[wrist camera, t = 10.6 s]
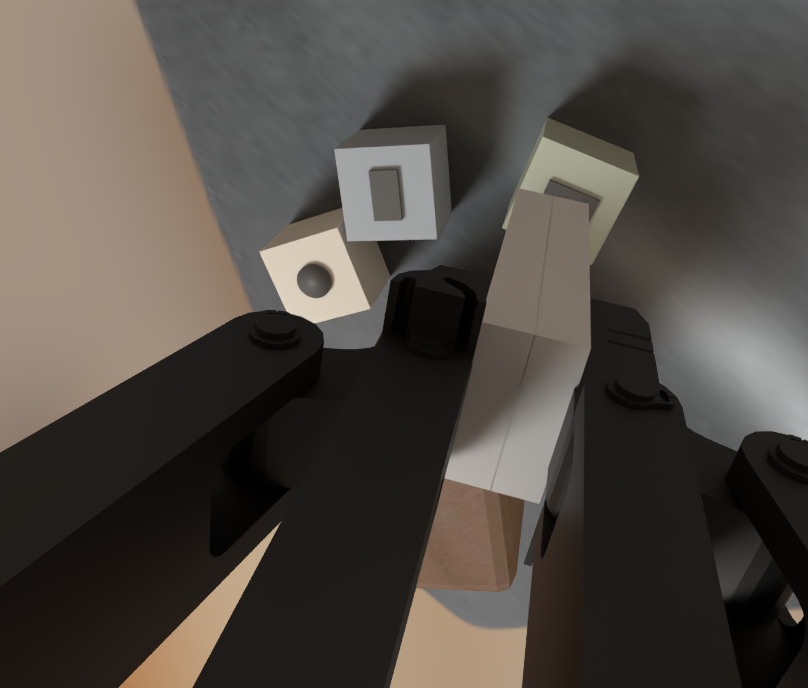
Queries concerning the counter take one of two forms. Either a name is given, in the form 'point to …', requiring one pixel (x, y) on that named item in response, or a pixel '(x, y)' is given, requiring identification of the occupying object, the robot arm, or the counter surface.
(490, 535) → the wooden block
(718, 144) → the counter surface
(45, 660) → the robot arm
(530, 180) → the marked cube sage
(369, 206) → the marked cube slate
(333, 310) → the marked cube cream
